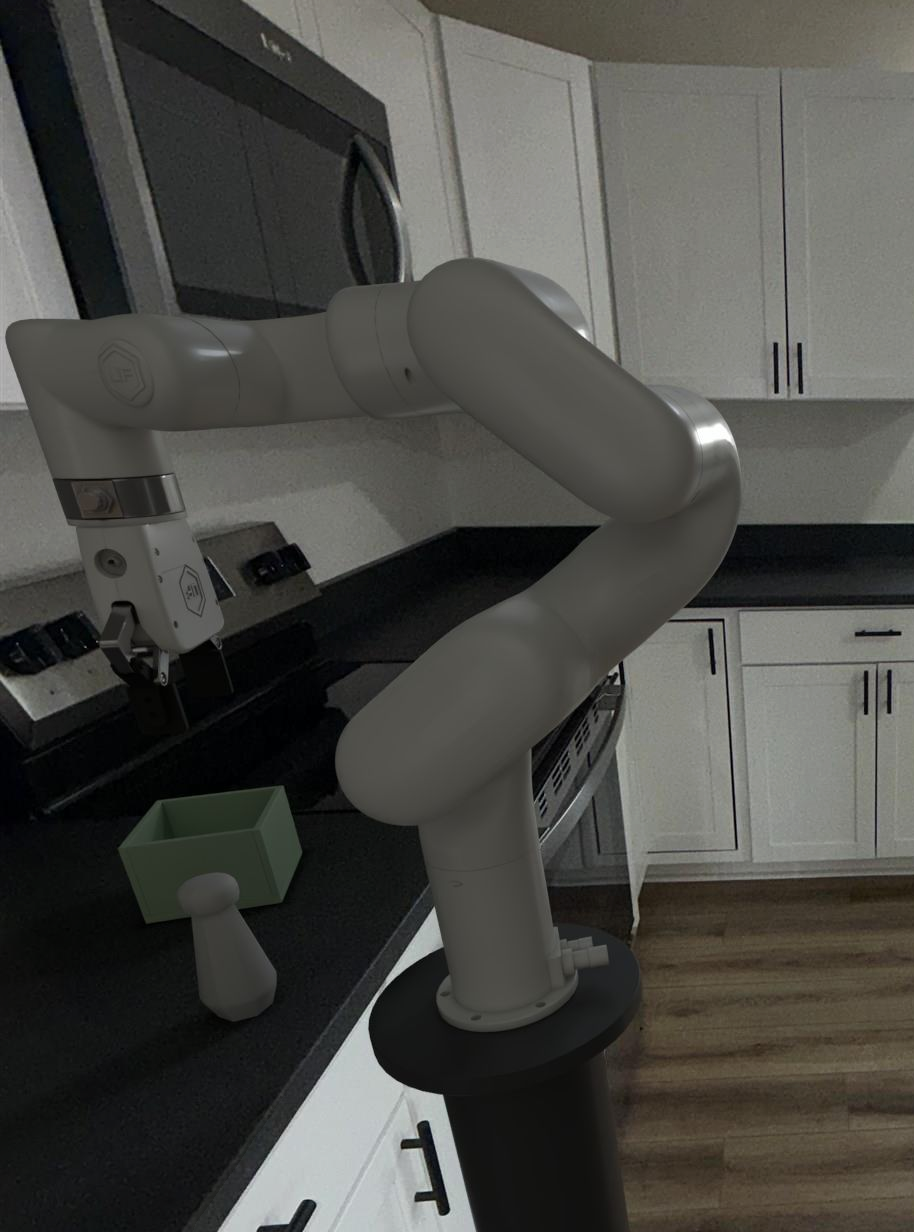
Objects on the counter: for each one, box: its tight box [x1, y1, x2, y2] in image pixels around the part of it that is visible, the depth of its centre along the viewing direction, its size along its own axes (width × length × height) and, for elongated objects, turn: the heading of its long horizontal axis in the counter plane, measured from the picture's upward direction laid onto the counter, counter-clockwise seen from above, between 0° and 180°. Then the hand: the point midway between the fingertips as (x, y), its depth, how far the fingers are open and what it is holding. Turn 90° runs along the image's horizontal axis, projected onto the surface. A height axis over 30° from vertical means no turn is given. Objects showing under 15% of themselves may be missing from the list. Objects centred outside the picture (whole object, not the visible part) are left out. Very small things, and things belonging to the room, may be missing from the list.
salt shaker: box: [176, 873, 278, 1023], centre depth 80 cm, size 6×6×13 cm
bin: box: [117, 785, 303, 925], centre depth 101 cm, size 12×12×9 cm
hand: (191, 713), depth 77 cm, fingers open, 9 cm apart
